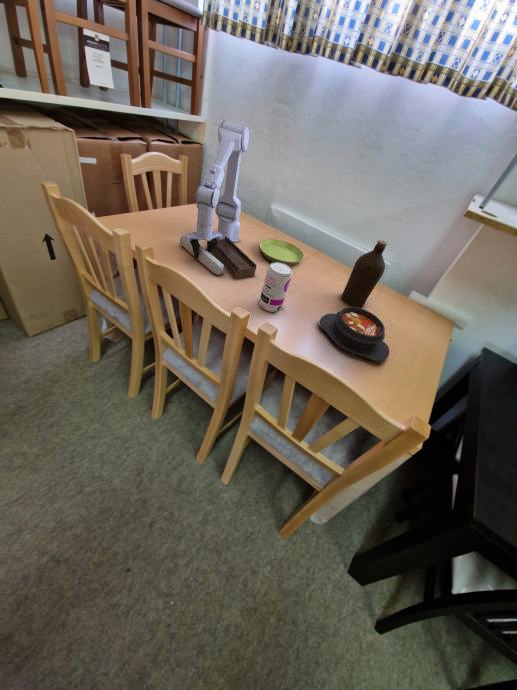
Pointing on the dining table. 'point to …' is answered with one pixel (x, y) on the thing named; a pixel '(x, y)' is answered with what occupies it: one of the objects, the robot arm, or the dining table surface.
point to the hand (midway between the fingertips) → (202, 256)
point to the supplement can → (275, 286)
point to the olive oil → (364, 276)
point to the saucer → (281, 251)
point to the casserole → (357, 332)
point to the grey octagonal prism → (204, 257)
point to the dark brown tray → (235, 258)
